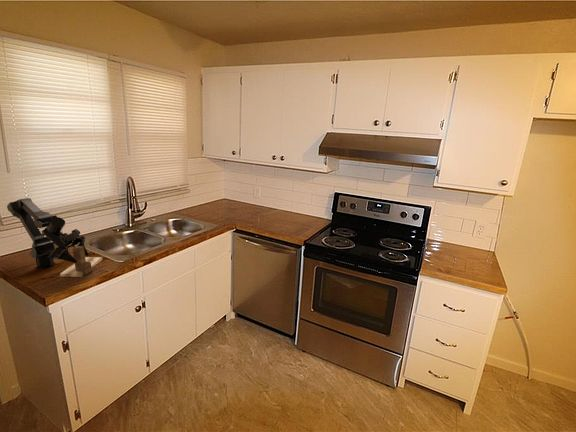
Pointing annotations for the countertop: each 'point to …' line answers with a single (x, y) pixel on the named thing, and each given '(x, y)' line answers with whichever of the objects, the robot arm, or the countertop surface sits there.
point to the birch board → (73, 273)
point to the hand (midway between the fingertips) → (82, 258)
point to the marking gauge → (81, 260)
